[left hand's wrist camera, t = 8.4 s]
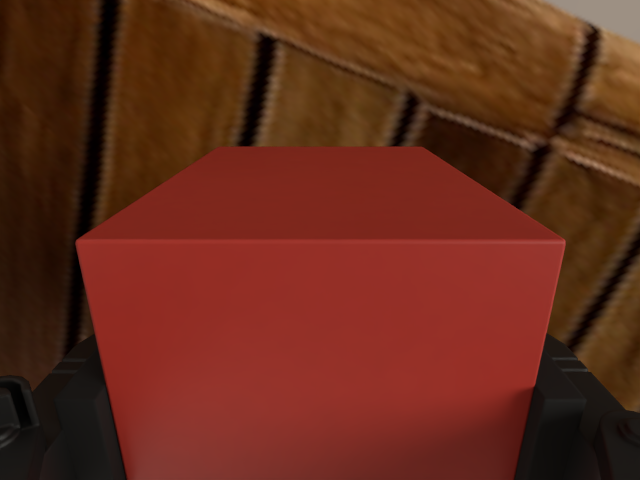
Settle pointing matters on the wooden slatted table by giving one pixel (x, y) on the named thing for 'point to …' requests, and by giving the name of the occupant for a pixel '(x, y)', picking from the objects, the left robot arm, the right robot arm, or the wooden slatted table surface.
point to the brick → (320, 318)
